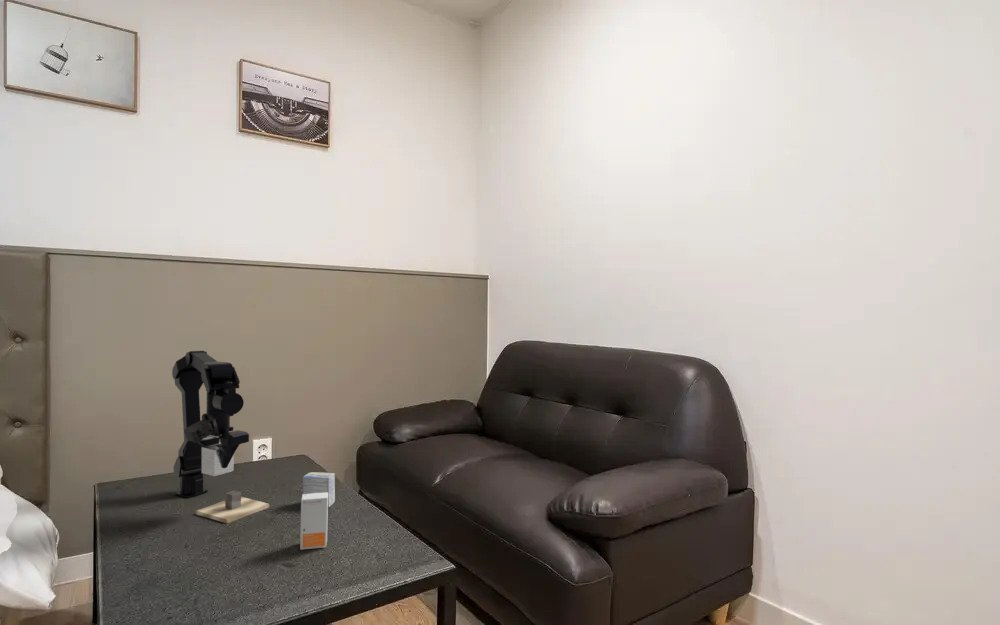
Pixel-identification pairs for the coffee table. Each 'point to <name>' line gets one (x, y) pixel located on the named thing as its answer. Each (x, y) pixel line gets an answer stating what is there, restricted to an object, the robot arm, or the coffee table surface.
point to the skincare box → (314, 520)
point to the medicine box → (320, 484)
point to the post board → (233, 513)
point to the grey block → (214, 461)
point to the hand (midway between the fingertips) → (217, 466)
